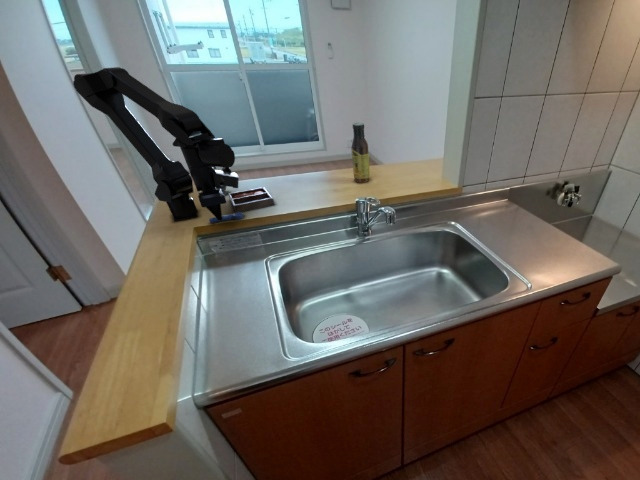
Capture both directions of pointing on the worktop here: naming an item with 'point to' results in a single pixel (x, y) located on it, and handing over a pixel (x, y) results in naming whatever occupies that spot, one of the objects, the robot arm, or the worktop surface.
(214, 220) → the blue flashlight
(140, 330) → the worktop surface
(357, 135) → the sauce bottle
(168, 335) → the worktop surface
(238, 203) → the tray
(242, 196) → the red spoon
